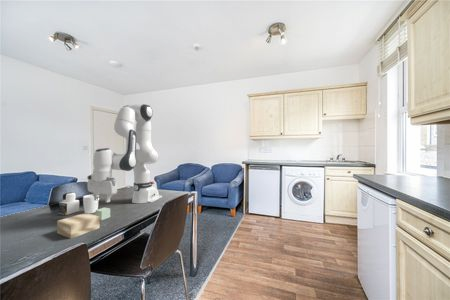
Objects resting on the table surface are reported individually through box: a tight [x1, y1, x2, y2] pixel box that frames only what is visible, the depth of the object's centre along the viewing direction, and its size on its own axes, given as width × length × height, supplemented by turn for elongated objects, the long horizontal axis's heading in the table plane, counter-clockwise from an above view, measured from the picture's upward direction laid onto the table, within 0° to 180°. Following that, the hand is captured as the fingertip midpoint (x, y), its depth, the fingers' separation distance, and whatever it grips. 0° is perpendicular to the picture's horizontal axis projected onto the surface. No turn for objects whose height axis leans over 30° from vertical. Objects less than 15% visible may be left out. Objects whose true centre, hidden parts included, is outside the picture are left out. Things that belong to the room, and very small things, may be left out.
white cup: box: [82, 193, 100, 214], centre depth 114 cm, size 8×8×10 cm
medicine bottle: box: [58, 192, 80, 216], centre depth 113 cm, size 7×7×12 cm
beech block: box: [56, 213, 101, 239], centre depth 88 cm, size 12×12×6 cm
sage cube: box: [95, 207, 111, 221], centre depth 104 cm, size 5×5×5 cm
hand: (102, 201), depth 103 cm, fingers open, 8 cm apart
